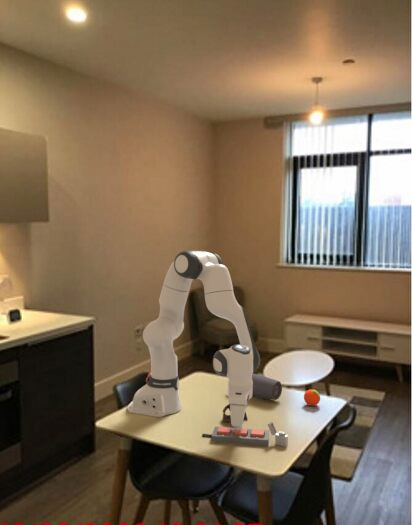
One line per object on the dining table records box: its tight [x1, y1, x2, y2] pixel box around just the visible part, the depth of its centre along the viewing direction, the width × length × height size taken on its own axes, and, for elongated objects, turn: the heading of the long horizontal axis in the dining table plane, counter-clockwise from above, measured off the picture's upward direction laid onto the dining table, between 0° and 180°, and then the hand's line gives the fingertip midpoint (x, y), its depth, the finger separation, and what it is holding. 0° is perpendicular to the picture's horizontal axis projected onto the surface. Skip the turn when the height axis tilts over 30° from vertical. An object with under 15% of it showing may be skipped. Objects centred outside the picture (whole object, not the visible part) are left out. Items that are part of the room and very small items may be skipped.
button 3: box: [251, 428, 264, 437], centre depth 174 cm, size 4×4×3 cm
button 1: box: [218, 426, 232, 435], centre depth 176 cm, size 4×4×3 cm
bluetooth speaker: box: [252, 373, 283, 401], centre depth 220 cm, size 23×9×10 cm, turn 49°
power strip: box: [201, 426, 270, 447], centre depth 175 cm, size 24×8×3 cm, turn 81°
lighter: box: [267, 421, 289, 447], centre depth 171 cm, size 7×2×8 cm, turn 61°
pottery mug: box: [222, 403, 248, 423], centre depth 193 cm, size 12×10×8 cm
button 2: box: [234, 427, 248, 436], centre depth 175 cm, size 4×4×3 cm
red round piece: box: [303, 388, 321, 407], centre depth 209 cm, size 8×7×7 cm
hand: (239, 428), depth 175 cm, fingers closed
